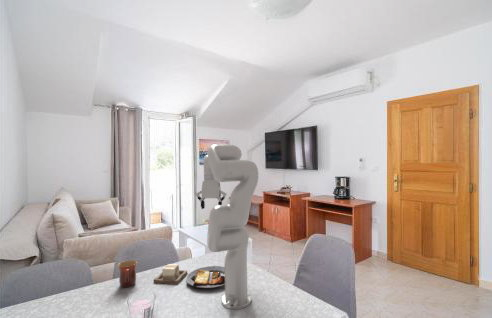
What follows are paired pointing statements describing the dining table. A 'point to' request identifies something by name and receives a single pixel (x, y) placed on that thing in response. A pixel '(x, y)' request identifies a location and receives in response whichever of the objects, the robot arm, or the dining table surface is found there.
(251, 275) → the dining table surface
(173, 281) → the walnut frame
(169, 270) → the birch block
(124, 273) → the mug
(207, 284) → the food plate
